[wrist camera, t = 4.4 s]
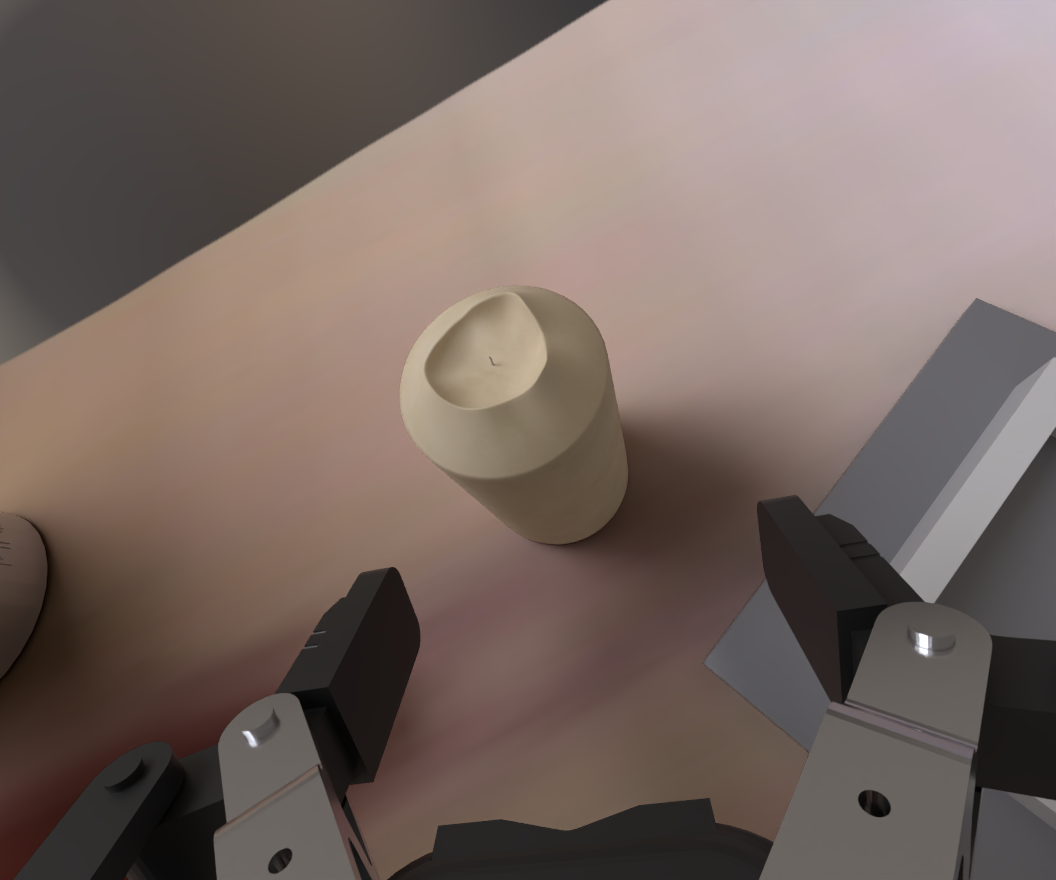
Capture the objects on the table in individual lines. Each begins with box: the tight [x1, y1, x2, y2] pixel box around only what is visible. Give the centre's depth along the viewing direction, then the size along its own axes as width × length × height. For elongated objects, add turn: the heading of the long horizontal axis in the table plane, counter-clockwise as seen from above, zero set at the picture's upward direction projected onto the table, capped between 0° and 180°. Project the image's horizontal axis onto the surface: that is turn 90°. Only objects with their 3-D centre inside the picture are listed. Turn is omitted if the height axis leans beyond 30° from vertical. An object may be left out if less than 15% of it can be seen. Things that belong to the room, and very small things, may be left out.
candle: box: [400, 286, 628, 544], centre depth 17 cm, size 6×6×10 cm
